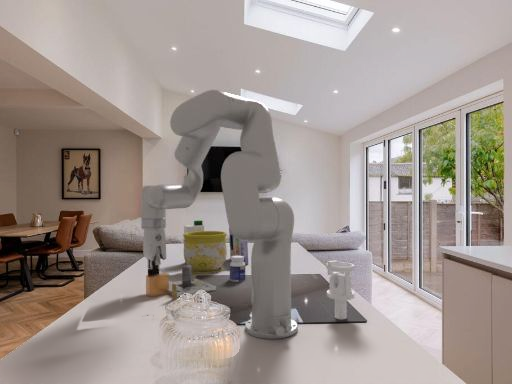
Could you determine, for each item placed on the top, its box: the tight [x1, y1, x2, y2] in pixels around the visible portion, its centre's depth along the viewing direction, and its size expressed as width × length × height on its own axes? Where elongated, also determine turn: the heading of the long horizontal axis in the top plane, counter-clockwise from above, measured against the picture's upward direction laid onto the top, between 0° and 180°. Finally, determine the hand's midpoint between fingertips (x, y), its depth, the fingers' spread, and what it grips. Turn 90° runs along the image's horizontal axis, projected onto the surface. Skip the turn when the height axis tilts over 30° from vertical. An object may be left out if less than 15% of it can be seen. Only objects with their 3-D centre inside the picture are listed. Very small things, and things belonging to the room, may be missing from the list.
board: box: [171, 264, 192, 301], centre depth 118 cm, size 26×26×9 cm
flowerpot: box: [182, 230, 228, 275], centre depth 150 cm, size 18×18×16 cm
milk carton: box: [183, 220, 205, 264], centre depth 170 cm, size 9×9×20 cm
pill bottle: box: [229, 256, 246, 283], centre depth 130 cm, size 6×6×10 cm
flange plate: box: [145, 272, 217, 298], centre depth 116 cm, size 20×14×6 cm
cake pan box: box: [228, 226, 249, 265], centre depth 174 cm, size 19×5×18 cm, turn 17°
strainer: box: [326, 259, 355, 320], centre depth 94 cm, size 7×7×15 cm
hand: (153, 280), depth 115 cm, fingers closed
